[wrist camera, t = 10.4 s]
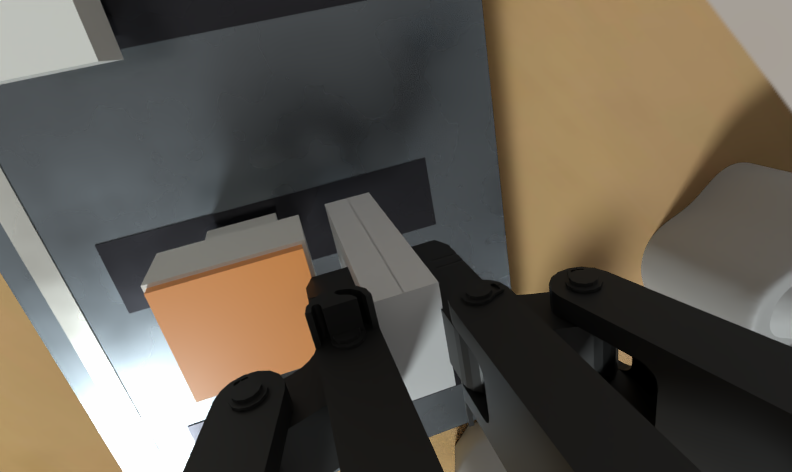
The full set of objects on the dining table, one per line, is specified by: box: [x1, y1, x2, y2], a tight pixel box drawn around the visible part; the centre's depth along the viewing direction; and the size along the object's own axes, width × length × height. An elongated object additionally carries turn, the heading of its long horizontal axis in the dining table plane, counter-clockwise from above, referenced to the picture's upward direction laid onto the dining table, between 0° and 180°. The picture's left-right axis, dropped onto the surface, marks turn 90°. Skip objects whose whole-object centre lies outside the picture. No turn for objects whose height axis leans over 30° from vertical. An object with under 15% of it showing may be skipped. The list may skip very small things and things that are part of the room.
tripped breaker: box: [141, 213, 317, 403], centre depth 14 cm, size 4×4×6 cm
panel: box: [0, 0, 511, 472], centre depth 19 cm, size 18×25×4 cm
